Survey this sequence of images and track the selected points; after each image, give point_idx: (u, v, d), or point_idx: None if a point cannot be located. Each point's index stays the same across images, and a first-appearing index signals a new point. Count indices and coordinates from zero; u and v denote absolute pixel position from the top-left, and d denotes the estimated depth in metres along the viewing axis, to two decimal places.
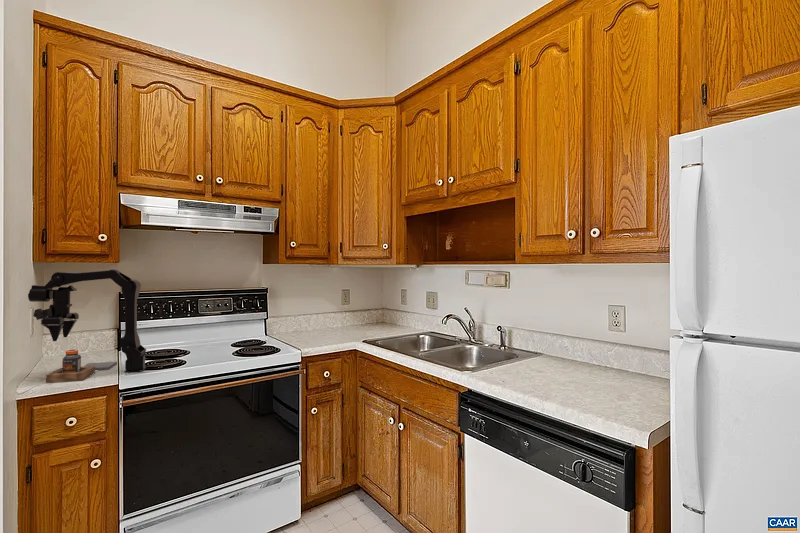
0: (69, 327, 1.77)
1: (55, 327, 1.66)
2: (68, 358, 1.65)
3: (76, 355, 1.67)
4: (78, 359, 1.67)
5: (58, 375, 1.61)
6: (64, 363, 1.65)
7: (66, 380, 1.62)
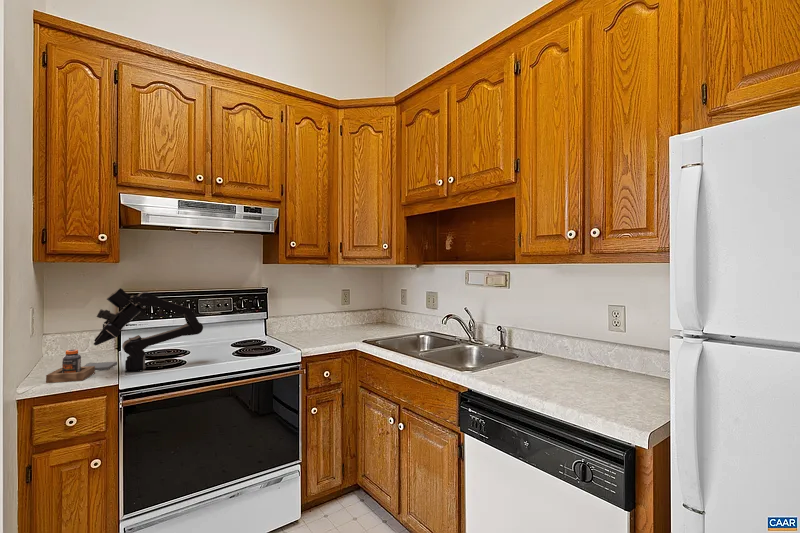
0: None
1: (107, 335, 1.70)
2: (68, 358, 1.65)
3: (76, 355, 1.67)
4: (78, 359, 1.67)
5: (58, 375, 1.61)
6: (64, 363, 1.65)
7: (66, 380, 1.62)
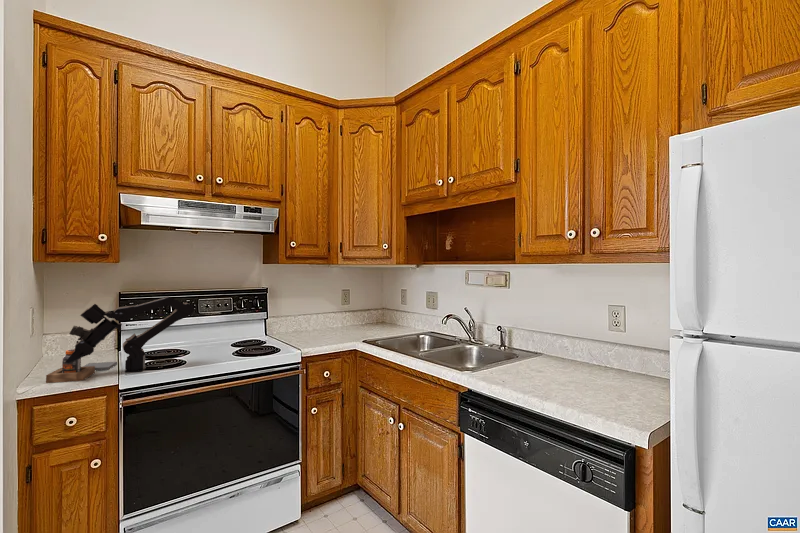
0: None
1: (80, 352, 1.66)
2: None
3: None
4: (78, 359, 1.67)
5: (58, 375, 1.61)
6: (64, 363, 1.65)
7: (66, 380, 1.62)
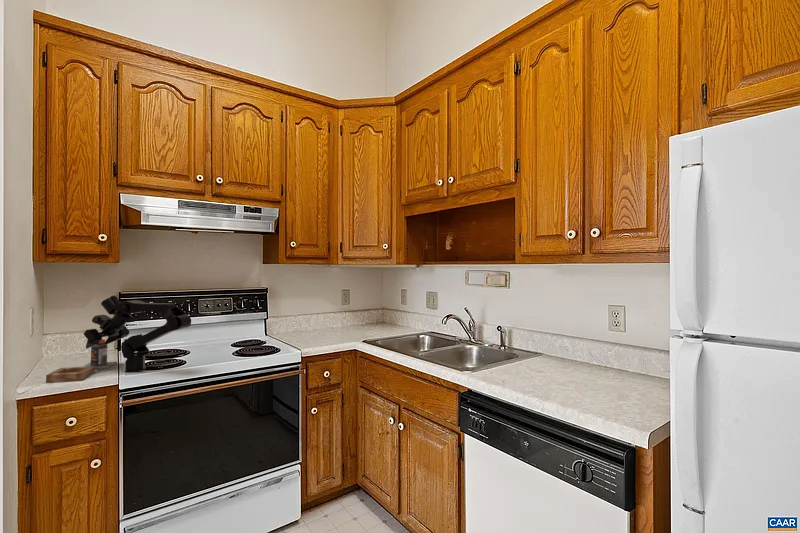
0: (112, 339, 1.88)
1: None
2: (92, 346, 1.81)
3: (99, 345, 1.82)
4: (99, 349, 1.81)
5: (58, 375, 1.61)
6: (91, 350, 1.82)
7: (66, 380, 1.62)
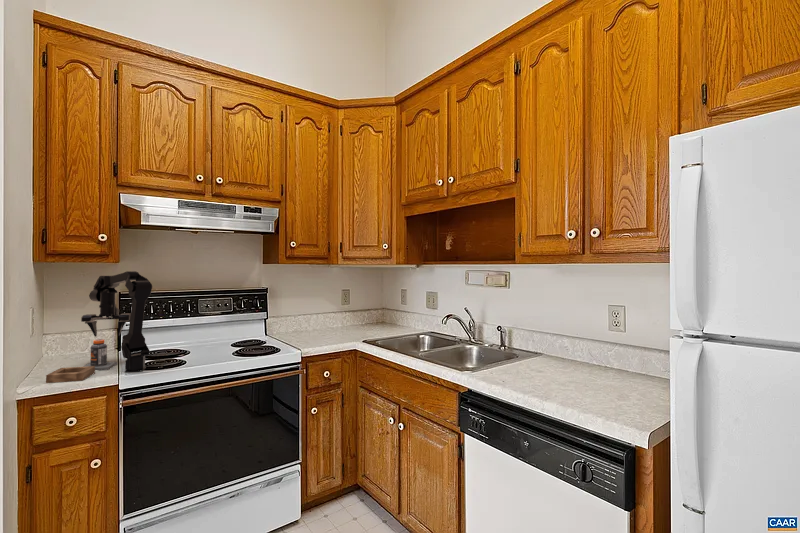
0: None
1: None
2: (91, 347, 1.81)
3: (98, 345, 1.82)
4: (99, 349, 1.81)
5: (58, 375, 1.61)
6: None
7: (66, 380, 1.62)
